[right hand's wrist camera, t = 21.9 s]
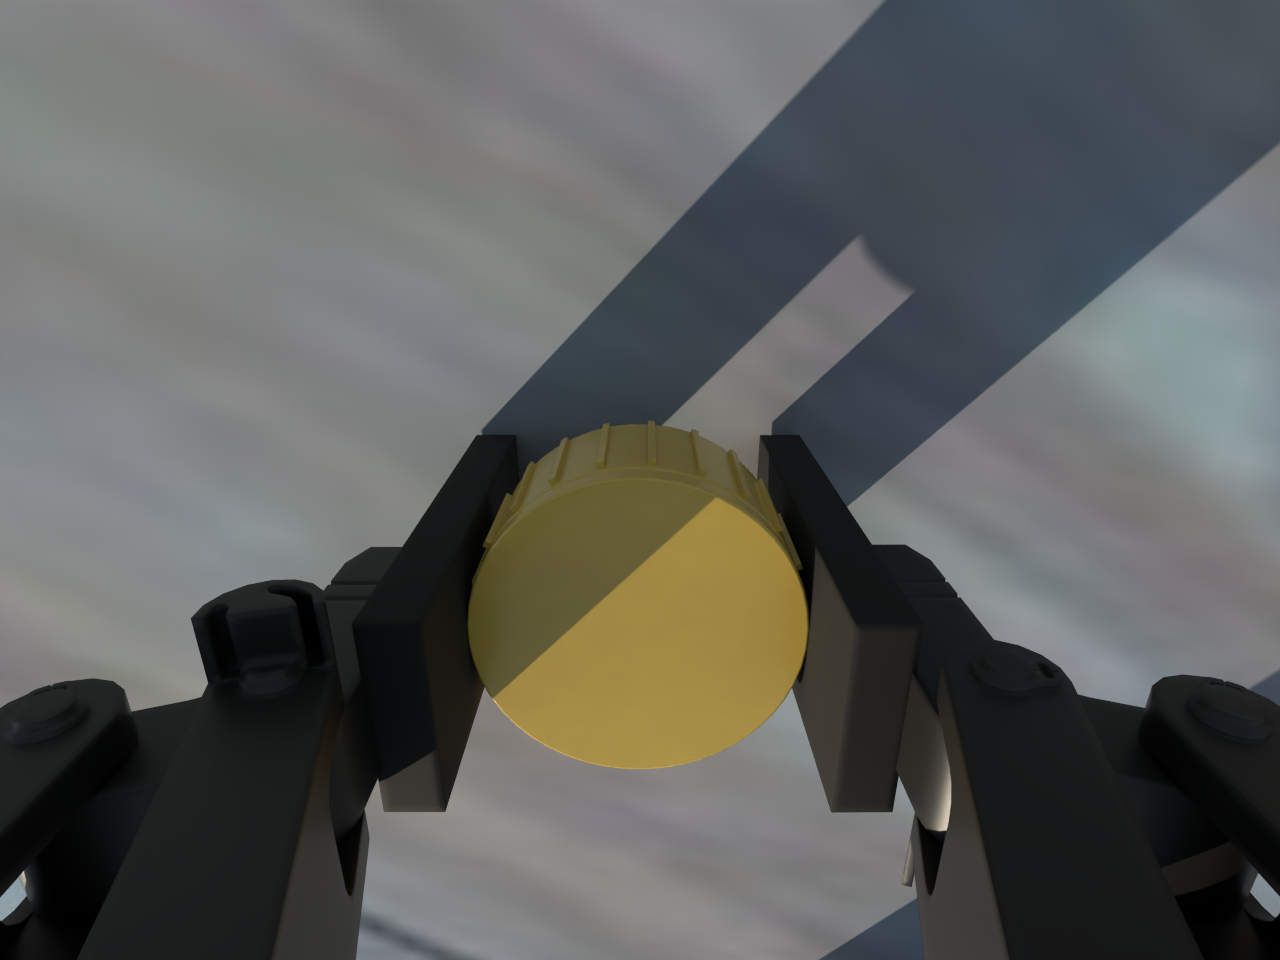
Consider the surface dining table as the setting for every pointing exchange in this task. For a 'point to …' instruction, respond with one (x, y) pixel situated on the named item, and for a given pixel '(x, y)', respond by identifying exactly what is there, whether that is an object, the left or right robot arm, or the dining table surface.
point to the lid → (638, 600)
